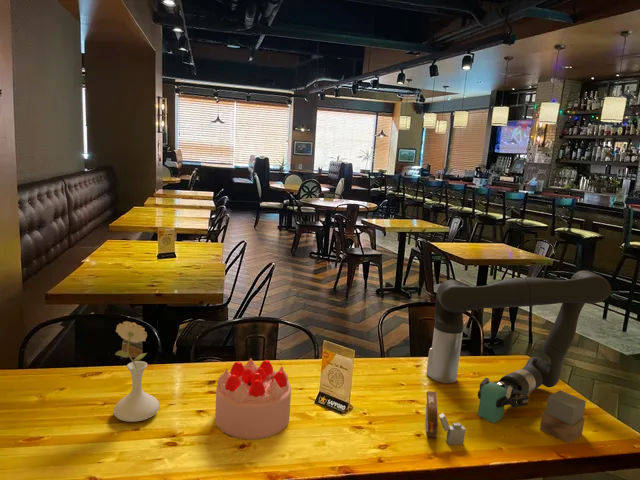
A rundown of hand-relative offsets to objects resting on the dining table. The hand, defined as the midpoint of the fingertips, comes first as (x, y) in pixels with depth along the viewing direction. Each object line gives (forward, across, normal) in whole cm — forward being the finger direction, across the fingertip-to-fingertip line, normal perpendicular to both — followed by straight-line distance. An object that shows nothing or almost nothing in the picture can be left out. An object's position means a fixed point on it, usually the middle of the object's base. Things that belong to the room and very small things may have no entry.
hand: (488, 399), depth 131 cm
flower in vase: (+79, -56, +6) cm, 97 cm away
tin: (+17, -7, +6) cm, 19 cm away
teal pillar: (-3, 0, +6) cm, 7 cm away
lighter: (+19, +1, +6) cm, 20 cm away
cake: (+55, -37, +6) cm, 66 cm away
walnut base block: (-13, +16, +6) cm, 21 cm away
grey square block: (-13, +16, +1) cm, 20 cm away
